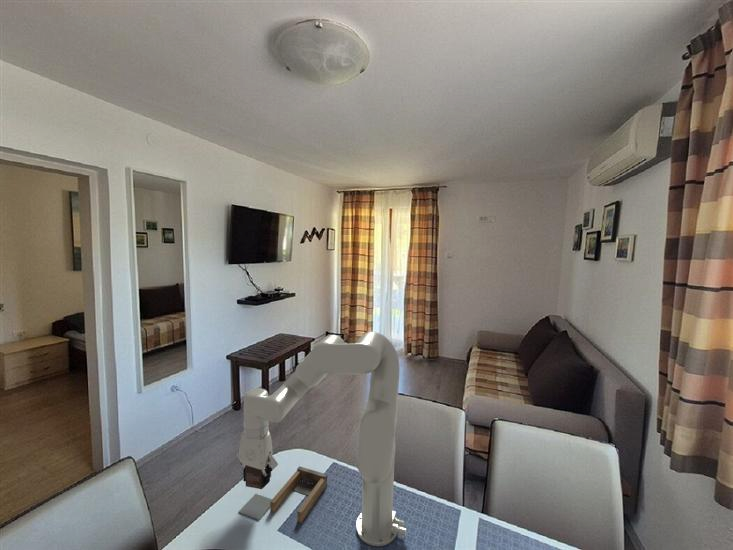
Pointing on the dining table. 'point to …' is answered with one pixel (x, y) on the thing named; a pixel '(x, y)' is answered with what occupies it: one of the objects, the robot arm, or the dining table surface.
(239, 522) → the dining table surface
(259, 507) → the pad
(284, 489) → the channel
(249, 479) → the box
